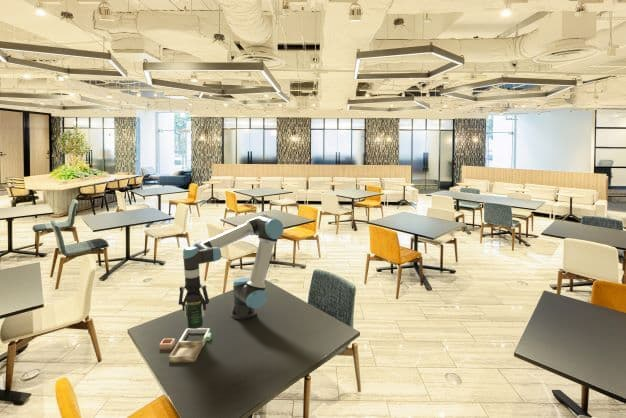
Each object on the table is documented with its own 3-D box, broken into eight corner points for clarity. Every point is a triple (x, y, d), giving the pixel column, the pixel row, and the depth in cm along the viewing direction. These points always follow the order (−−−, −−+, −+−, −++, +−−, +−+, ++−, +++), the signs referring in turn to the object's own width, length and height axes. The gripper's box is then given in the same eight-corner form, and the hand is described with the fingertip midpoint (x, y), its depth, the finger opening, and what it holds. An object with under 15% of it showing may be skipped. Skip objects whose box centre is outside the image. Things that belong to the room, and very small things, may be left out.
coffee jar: (203, 328, 197) (201, 295, 194) (187, 330, 195) (185, 297, 191) (202, 320, 206) (200, 288, 203) (187, 322, 204) (185, 290, 200)
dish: (175, 343, 196) (175, 338, 196) (171, 349, 190) (171, 344, 190) (163, 343, 196) (163, 338, 196) (159, 349, 190) (159, 344, 190)
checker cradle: (213, 332, 209) (213, 328, 209) (207, 346, 194) (207, 341, 194) (186, 332, 208) (186, 328, 208) (178, 346, 194) (178, 342, 193)
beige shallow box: (202, 346, 194) (202, 341, 193) (195, 362, 180) (195, 356, 179) (178, 346, 193) (178, 341, 193) (169, 362, 179) (168, 356, 179)
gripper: (213, 273, 200) (216, 312, 204) (174, 274, 199) (177, 313, 203) (210, 278, 192) (213, 318, 196) (169, 279, 191) (172, 319, 195)
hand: (194, 316), depth 199 cm, fingers closed on coffee jar, 8 cm apart
